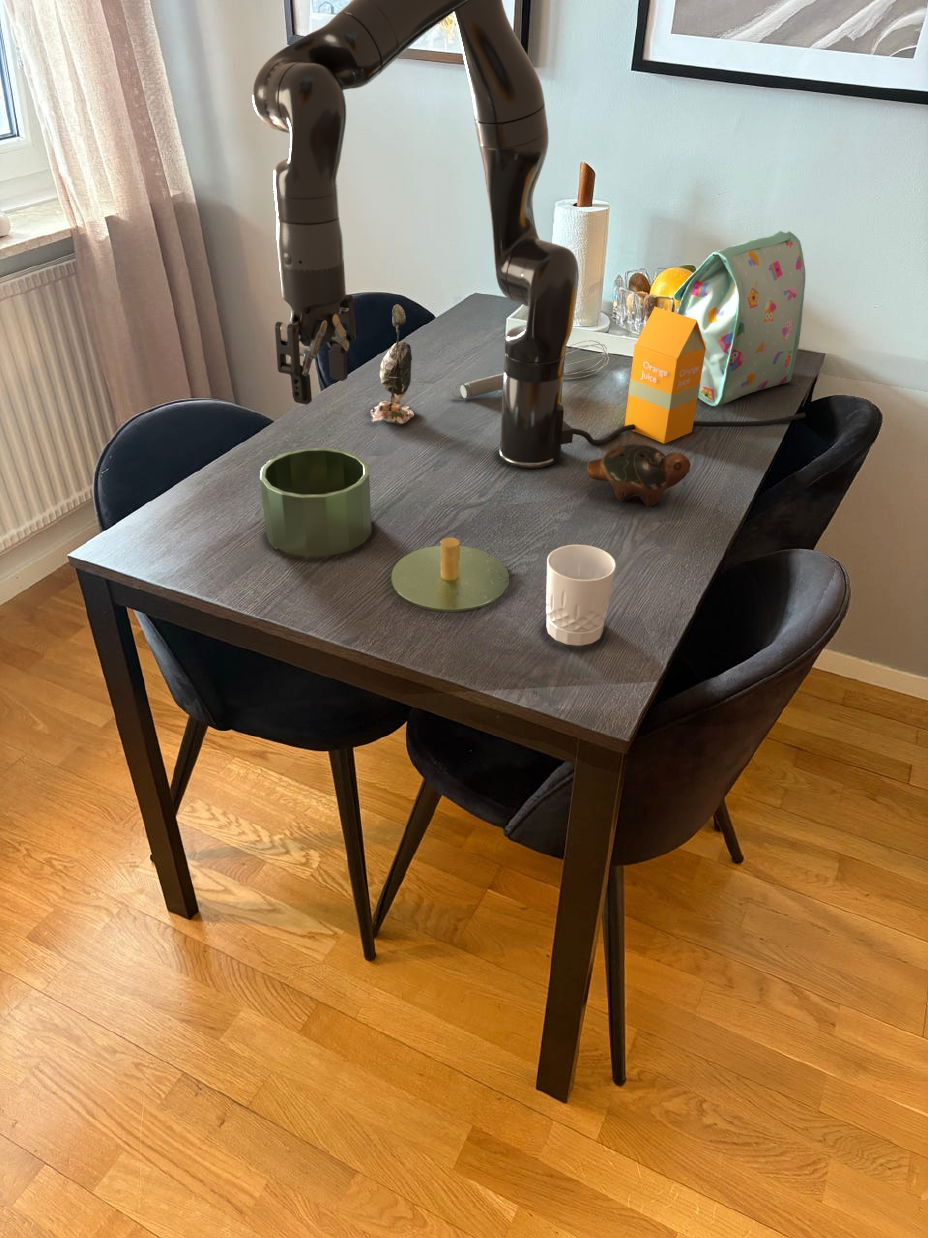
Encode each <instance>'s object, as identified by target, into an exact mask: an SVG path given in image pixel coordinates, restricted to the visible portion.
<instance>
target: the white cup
mask: <svg viewBox="0 0 928 1238" xmlns="http://www.w3.org/2000/svg"><path fill="white" fill-rule="evenodd" d="M616 568H617V562H616V560H615V558H614V557H613V555H611V554H610V553H609V552H607V551H605V550H604V549H602V548H599V547H596V546H592V545H587V544H569V545H568V544H567V545H563V546H559V547H557V548H556V549H554V550H552V551H551V552H550V553H549V554H548V556H547V558H546V584H545V585H546V587H545V588H546V589H545V590H546V591H545V593H546V594H545V602H546V603H545V613H546V621H545V623H546V625H545V626H546V630H547V634H548V635H549V636H551V637H552V639H554V640H555V641H557V642H559V643H562V644H565V645H569V646H578V647H579V646H586V645H590V644H593V643H595V642H597V641H598V640H600V639H601V637H602V635H603V632H604V627H605V622H606V619H607V616H608V610H609V606H610V601H611V596H612V590H613V585H614V580H615V574H616Z"/></svg>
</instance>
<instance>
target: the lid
mask: <svg viewBox="0 0 928 1238" xmlns="http://www.w3.org/2000/svg"><path fill="white" fill-rule="evenodd" d="M509 582H510V576H509V571H508V568H507V566H506V565H505V564H504V563H503V562H502V561H501V560H500V559H498V558H497V557H495V556H494V555H492V554H490V553H489V552H487V551H484V550H481V549H478V548H474V547H471V546H464V545H461V541H460V540H459V539H458V538H456V537H445V538H443V539H441V541H440V545H435V546H429V547H424V548H420V549H417V550H415V551H412V552H410V553H408V554H407V555H405V556H403V557H401V559H400V560H398V561H397V562H396V564H395V565H394V566H393V568H392V570H391V573H390V583H391V587H392V588H393V590H394V592H395V593H396V594H397V595H398V596H399V598H401V599H402V600H403V601H405V602H407V603H409V604H410V605H412V606H415V607H417V608H420V609H423V610H428V611H432V612H438V613H463V612H464V613H465V612H470V611H475V610H478V609H482V608H485V607H487V606H489V605H492V604H493V603H495V602H496V601H498V600H499V599H500V598H501V597H502V596H503V595H504V594H506V593H505V592H506V591H507V589H508V587H509Z"/></svg>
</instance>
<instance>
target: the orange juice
mask: <svg viewBox="0 0 928 1238" xmlns="http://www.w3.org/2000/svg"><path fill="white" fill-rule="evenodd" d="M677 313H678V312H674V311H670V310H667V309H664V308H661V307H658V306H654V307H653V309H652V311H651V313H650V315H649V317H648V319H647V321H646V323H645V325H644V327H643V329H642V331H641V332H640V335H639V336H638V338H637V340H636V342H635V344H634V347H633V356H632V363H631V364H632V365H631V373H630V379H629V384H628V393H627V394H628V395H627V403H626V404H627V405H626V411H625V420H624V426H626V425H631V424H634V425H635V429H634V430H632V432H636V433H638V434H640V435H642V436H645V437H647V438H649V439H652V440H654V441H656V442H658V443H661V444H667V443H669V442H671V441H672V442H673V441H674V440H677V439H679V438H680V437H681V438H682V437H683V436H686V435H688V434H691V433H692V432H693V427H694V426H693V422H694V421H695V416H696V410H697V403H698V399H699V398H698V395H699V389H700V381H701V375H702V369H703V363H704V357H705V352H706V347H705V344H704V341H703V338H702V335H701V331H700V328H699V325H698V322H697V320H696V319H692V318H689V317H686V316H683V315H680V314H677Z"/></svg>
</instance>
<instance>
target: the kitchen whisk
mask: <svg viewBox="0 0 928 1238" xmlns="http://www.w3.org/2000/svg"><path fill="white" fill-rule="evenodd" d="M585 342H586V340H582V341H579V342H575V343H573V344H571V345H568V346H566V351H565V356H567V355H568V354H571V353H574V352H576V351H579V350H583V349H584V348H588V347H593V348H594V347H596V348H598V349H600V350H601V351H603V353H597V354H592V355H588V356H584V357H580V358H577V359H573V360H570V361H566V362H565V361H564V367H565V366H569V365H573V364H577V363H581V362H585V361H589V360H593V359H596V358H600V357H602V358H601V359H600V360H599V361H598V362H597V363H596V364H594V365H592V366H591V367H588V368H585V369H583V370H580V371H576V372H571V373H563V376H569V375H577V374H584V373H591V372H592V373H591V374H587V375H584V376H578V377H565V378H564V377H563V380H573V379H582V378H585V377H589V376H593V375H594V374H596V373H598V372H599V371H601V370H602V369H603V368H605V366H607V365H608V364H609V361H610V357H609V354H610V352H607V347H606V345H605V344H602V343H600V342H599V341H596V340H591V339H590V340H589V342H594V343H596V344H588V345H580V346H575V345H577V344H581V343H585ZM598 345H599V346H601V347H599V346H598ZM572 346H575V347H572ZM570 347H572V348H570ZM568 348H569V349H568ZM573 349H575V350H573ZM569 351H570V352H569ZM566 352H567V353H566ZM606 356H607V363H606V361H603V359H605V357H606ZM601 361H603V364H602V366H601V367H598V368H596V369H592V368H594V367H595V366H597V365H599V364H600V363H601ZM567 363H568V364H567ZM591 369H592V370H591ZM594 371H595V372H594ZM458 387H460V388H459V389H460V394H461V396H462V398H458V397H455V395H454V391H455V390H456V389H457V388H458ZM500 390H503V372H501V373H499V374H495V375H490V376H488V377H487V376H486V377H484V378H480V379H476V380H473V381H469V382H466V383H464V382H463V383H461V384H458V385H457V386H455V387H454V388H453V390H452V396H453V398H454V399H456V400H461V401H465V400H467V399H468V398H469V399H471V398H474V397H477V396H481V395H486V394H489V393H492V392H496V391H500Z"/></svg>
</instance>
